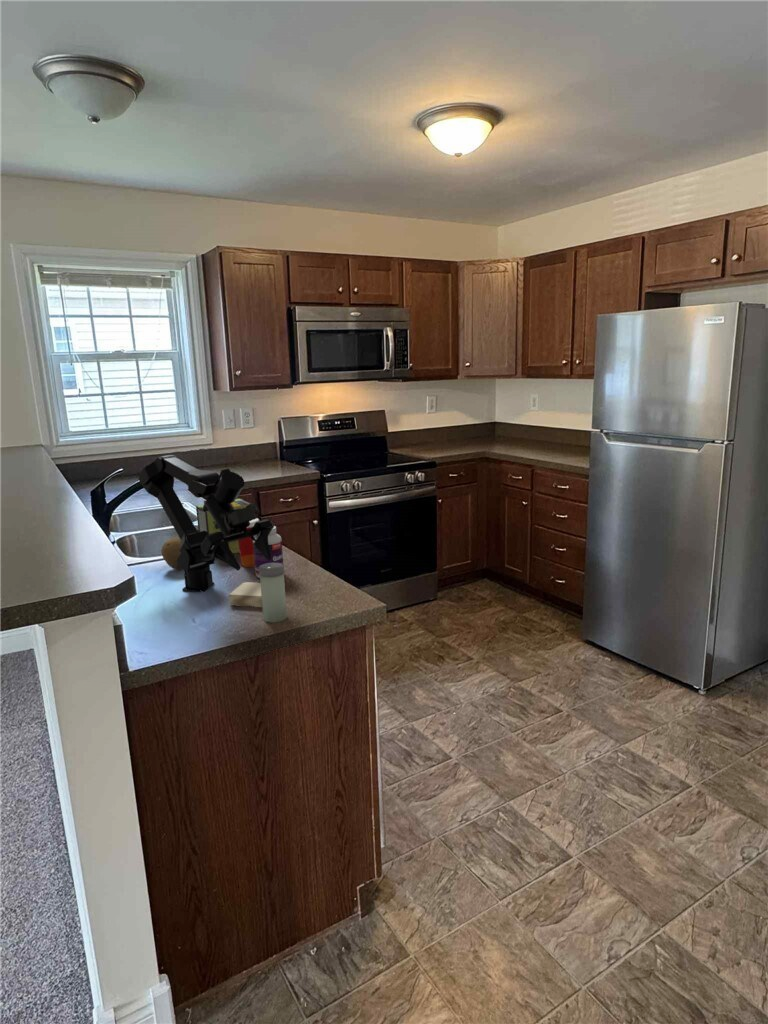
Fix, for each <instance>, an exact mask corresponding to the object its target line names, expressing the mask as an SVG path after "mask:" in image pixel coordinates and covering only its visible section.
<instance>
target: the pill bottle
mask: <svg viewBox="0 0 768 1024" xmlns="http://www.w3.org/2000/svg"><path fill="white" fill-rule="evenodd" d="M282 541H283V540H282V537H281V535H280V534H278V533H277V526H275V525H274V528H273V529H272V530H271V532H270V534H269V535H268V544H269V549H270V555H271V559H270V560H269V561H268V560H267V559H266V558H265V557H264V556H263V555H262V553H261V552H260V551H259V550H258V548H257V547H256V546H255V545H254V542H255V541H253V548H254V560H255V567H254V570H255V576H256V577H257V578H258V579H260V575H259V569H258V567H259V566H260V565H263V564H266V563H281V564H283V565H284V554H283V553H284V552H283V544H282V543H283V542H282Z"/></svg>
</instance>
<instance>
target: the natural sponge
mask: <svg viewBox="0 0 768 1024" xmlns="http://www.w3.org/2000/svg"><path fill="white" fill-rule="evenodd" d="M180 542H181V539H180V537H179V536H173V537H170V538H169V539H167V540H166V541H165V542H164V543H163V544H162V547H161V553H160V554H161V555H162V558H163V560H164V561H165V562H166V564H167V566H169V567H170V568H172V569H173V570H177V571H182V570H181V569H179V568H178V565H177V559H178V558H179V556H180V554H181V552H180Z"/></svg>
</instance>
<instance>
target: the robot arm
mask: <svg viewBox="0 0 768 1024" xmlns="http://www.w3.org/2000/svg"><path fill="white" fill-rule="evenodd" d="M175 479H176V480H178V481H180V482H181V483H183V484H184V485H187V491H188V492H190V493H191V495H193V496H194V497H196V498H197V499H199V498H204V497H207V499H206V500H203V504H204V506H203V511H204V512H205V511H209V512H210V514H211V516H212V517H213V519H214V521H215V522H216V524H215V528H216V529H220V530H221V532H216V533H212V534H208V533H207V532H206V531H201V532H200V531H198V528H196V525H195V524H194V522H193V520H192V519H191V518H190V515H189V513H188V512H187V510H186V509H185V507H184V505H183V504H182V502H181V500H180V498H179V496H178V495H177V492H176V491H175V489H174V485H175ZM138 480H139V481H138V482H139V483H140V485H142V487H143V488H144V490H145V491H146V493H147V494H149V495H151V496H152V497H155V498H156V499H157V500H158V502H159V504H160V505H161V507H162V510H163V511H164V512H165V514H166V516H167V518H168V520H169V521H170V523H171V525H172V527H173V529H174V530H175V532H176V534H177V535H178V536H177V537H180V539H181V542H180V552H181V554H180V556H179V558H178V559H177V565H178V568H179V569H181V570H180V571H183V576H184V585H185V587H183V588H182V591H183V592H197V593H198V592H200V593H204V592H206V591H207V590H208V589H209V588H211V587H212V586H214V585H215V582H214V581H213V573H212V572H213V571H212V570H211V567H210V566H211V565H215V560H217V559H218V560H219V561H221V562H223V563H225V564H226V565H227V566H230V568H233V569H235V570H236V571H240V570H241V565H240V564H239V562H238V560H237V559H236V557H235V555H234V553H232V552H231V550H230V548H229V543H230V542H234V541H237V540H241V539H244V538H248V537H251V539H252V540H253V541H255V542H254V545H255V546H256V547H257V548H258V550H259V551H260V552H261V553H262V555H263V556H264V557H265V558H266V559H267V560H268V561H269V560H270V559H271V555H270V549H269V544H268V535H269V534H270V532H271V530H272V529H273V528H274V526H275V525H274V524H273V522H272V521H271V519H268V518H267V519H263V520H259V521H258V522H256V523H255V525H254V526H253V528H252V529H248V530H247V527H248V526H249V525H250V522H249V521H251V520H253V519H256V518H257V517H258V516H259V515H260V513H261V512H260V509H259V507H258V506H257V504H256V503H255V502H253V503H251V504H249V505H248V506H246V508H243V509H234V507H233V505H232V504H231V503H232V502H234V501H235V500H236V499H238V496H239V495H240V494H241V491H242V490H243V489H244V487H245V479H244V478H243V477H242V476H241V475H240V474H238V473H237V472H234V471H231V469H230V468H224V469H221V471H220V472H219V473H218V472H216V471H212V470H209V469H208V470H206V469H205V470H202V469H198V468H196V467H194V466H192V465H190V464H189V463H187V462H185V461H183V460H181V459H179V457H177V455H175V454H169V455H161V456H159V457H157V458H156V459H155V460H154V461H152V462H151V463H149V464H148V465H146V466H145V467H143V468H142V469H141V471H140V472H139V474H138Z"/></svg>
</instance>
